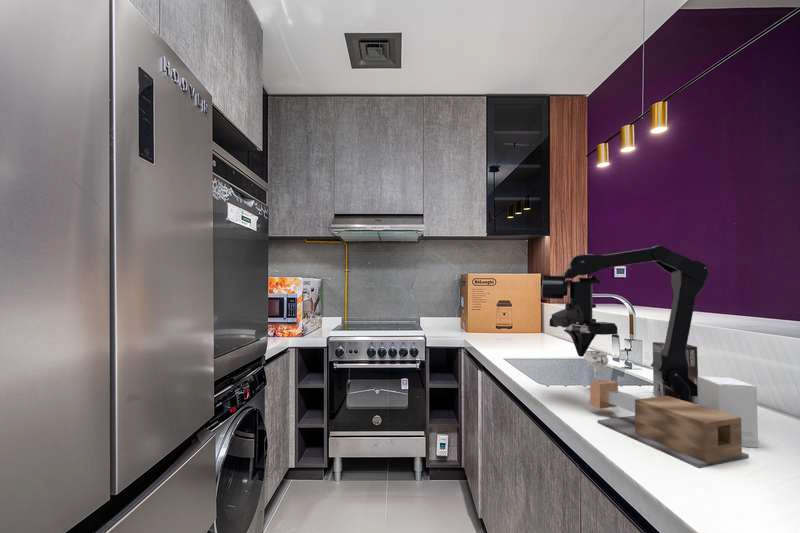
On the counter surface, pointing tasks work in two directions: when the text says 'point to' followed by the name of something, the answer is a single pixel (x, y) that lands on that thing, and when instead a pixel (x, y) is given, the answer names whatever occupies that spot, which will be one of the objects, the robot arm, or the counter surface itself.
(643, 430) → the housing
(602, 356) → the wineglass
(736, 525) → the counter surface
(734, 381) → the supplement box
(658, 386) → the coffee box
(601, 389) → the shaft
